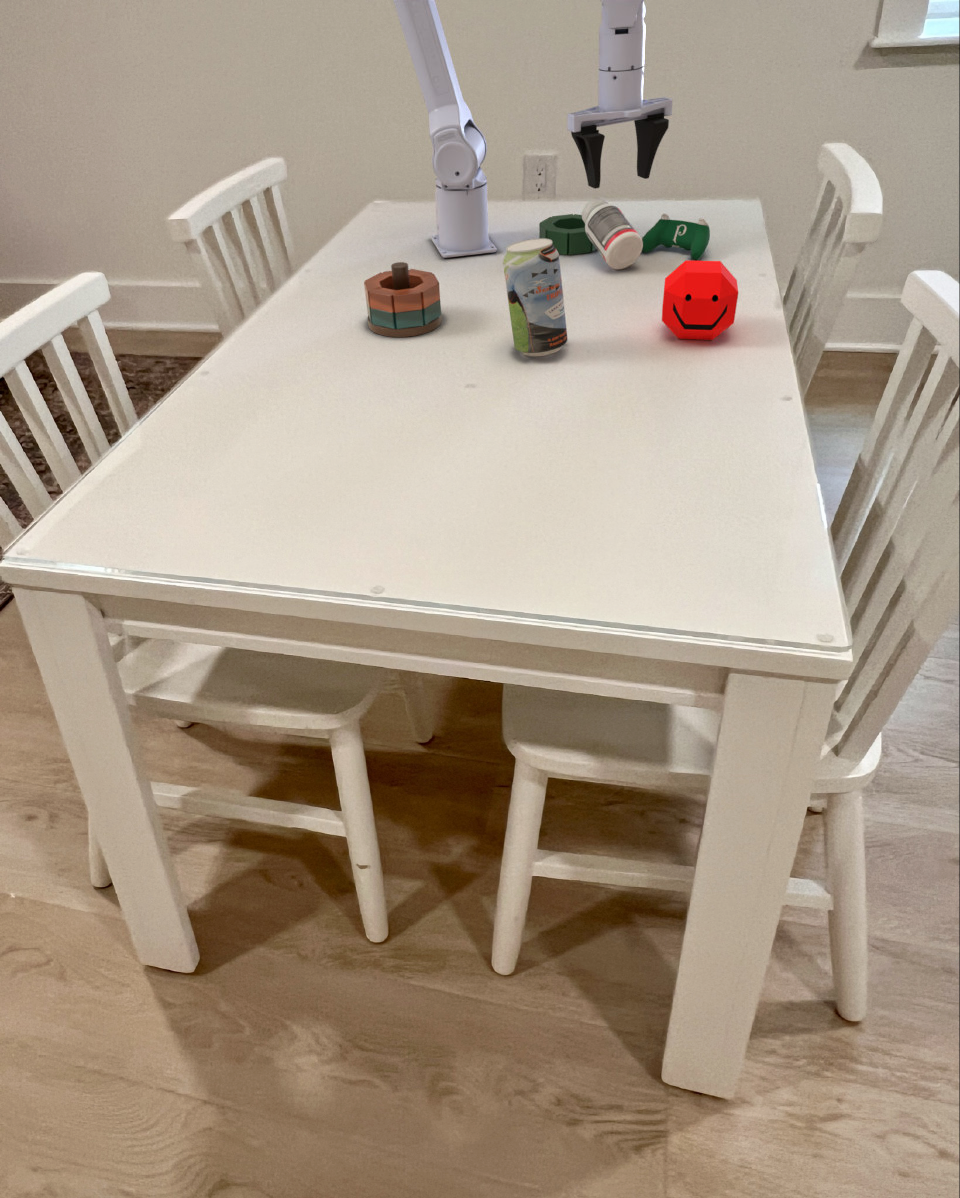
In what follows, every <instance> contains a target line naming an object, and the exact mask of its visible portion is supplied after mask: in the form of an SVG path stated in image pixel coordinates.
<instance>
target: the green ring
mask: <svg viewBox="0 0 960 1198" xmlns="http://www.w3.org/2000/svg"><path fill="white" fill-rule="evenodd" d="M538 229H539V230H538V231H539V233H538V234H539V235H538V239H550V240H552V244H553V246H554V247H555V248H556V250H557V251H558V253H559V255H564V256H574V255H581V254H590V253H593V252H595V251H596V250H597V249H596V247H595V246H594V245H593V243H592V242H591V240H590V239H589V238H588V236H587V234H586V231H585V223H584V221H583V219H582V214H577V213H574V214H573V213H569V214H559V215H551V216H549V217H547V218H545V219H544V220H542V221H540V222H539V228H538Z"/></svg>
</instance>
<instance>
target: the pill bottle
mask: <svg viewBox="0 0 960 1198" xmlns="http://www.w3.org/2000/svg"><path fill="white" fill-rule="evenodd" d="M581 215H582V219H583V221H584V223H585V231H586V234H587V236H588V238H589V239H590V240H591V242H592V243H593V245H594V246H595V247H596V250H597V252H598V253H599V254H600V256H601V257H602V259H603V260H604V261H605V263H606V264H607V265H608V267H610V268H611V269H613V270H623V269H626V268H628V267H630V266H631V265H633V264H634V263H635V262H636V261H637V260H638V258H639V256H640V255H641V254H642V252H641V251H642V248H643V241H642V237H641V235H640V234H639V233H638V232H637V230H636V229H635V227H634V226H633V225H632V224H631V222H630V221H629V220H628V219H627V217H626V216H625V214H624V213H623V212H622V210H621V209H620V208H619V207H618V206H617V205H615V204H614V203H613V204H612V203H609V202H608V201H607V199H605V198H604V197H602V196H598V197H597V196H596V197H594V198H592V199H589V200H588V201H587V202H586V204H585V205H584V206H583V208H582V211H581Z"/></svg>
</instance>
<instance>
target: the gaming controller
mask: <svg viewBox="0 0 960 1198" xmlns="http://www.w3.org/2000/svg"><path fill="white" fill-rule="evenodd" d="M710 237H711V229H710V225H709V224H708V223H707V221H706V219H705V218H699V219H698V222H693V221H685V220H679V219H671V218H670V216H669V215H668V214H667V213H662V214H661V216H660V218H659V219H658V221H657V222H655V224H654V225H653V226H652V227H651V228H650V229H648V231H647V232H646V233H645V234H644V235H643V237H641V239H642V241H643V248H642V251H641V253H643V254H645V253H650V252H651V251H653V250H655V249H657V248H658V247H660V246H663V247H664V248H667V249H672V248H676V249H677V248H678V249H682V250H684V251H687V252H690V258H691V260H692V261H699V260H700V259H701V258H702V257H703V255H704V254H705V253H706V250H707V247H708V246H709V242H710Z"/></svg>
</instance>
